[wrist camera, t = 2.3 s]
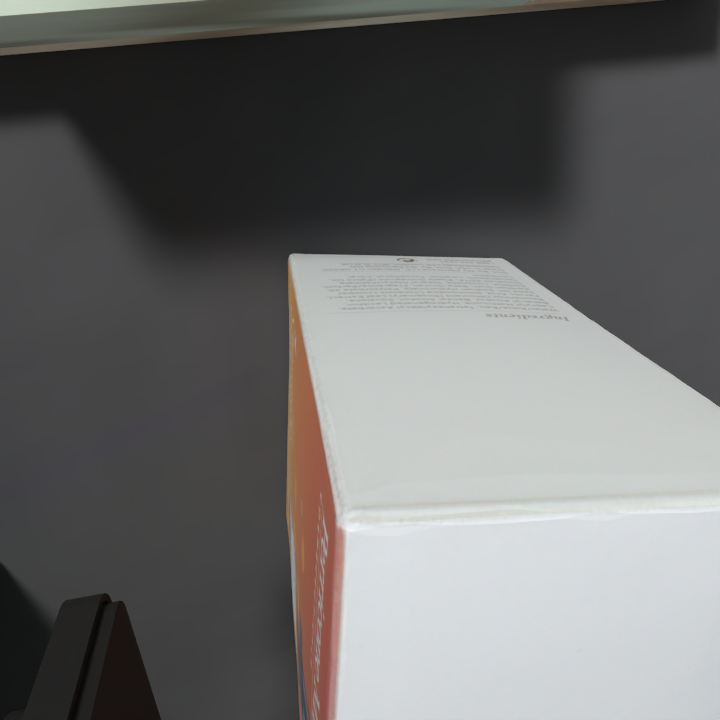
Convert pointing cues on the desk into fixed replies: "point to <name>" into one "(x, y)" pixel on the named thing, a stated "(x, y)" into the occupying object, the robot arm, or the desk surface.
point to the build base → (223, 18)
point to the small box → (492, 503)
